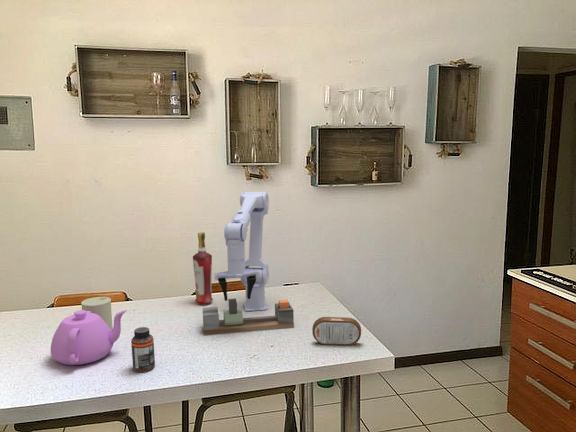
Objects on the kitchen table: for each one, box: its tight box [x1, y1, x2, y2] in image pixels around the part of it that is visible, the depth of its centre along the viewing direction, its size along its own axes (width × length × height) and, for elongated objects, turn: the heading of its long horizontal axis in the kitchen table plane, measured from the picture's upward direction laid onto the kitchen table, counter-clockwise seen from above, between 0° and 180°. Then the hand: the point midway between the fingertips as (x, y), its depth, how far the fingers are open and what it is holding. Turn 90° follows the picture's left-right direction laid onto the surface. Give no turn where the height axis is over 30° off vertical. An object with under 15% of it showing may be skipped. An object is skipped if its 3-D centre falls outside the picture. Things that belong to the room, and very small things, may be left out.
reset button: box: [278, 299, 290, 309], centre depth 168 cm, size 3×3×4 cm
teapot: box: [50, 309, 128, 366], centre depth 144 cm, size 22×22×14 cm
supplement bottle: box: [130, 326, 156, 373], centre depth 136 cm, size 6×6×11 cm
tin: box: [311, 316, 362, 346], centre depth 151 cm, size 15×3×8 cm, turn 84°
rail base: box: [202, 302, 295, 336], centre depth 167 cm, size 9×30×6 cm, turn 101°
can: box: [80, 296, 114, 331], centre depth 161 cm, size 9×9×12 cm
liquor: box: [192, 231, 214, 306], centre depth 190 cm, size 7×7×28 cm
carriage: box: [223, 298, 244, 325], centre depth 165 cm, size 6×6×8 cm
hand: (237, 299), depth 163 cm, fingers open, 7 cm apart
